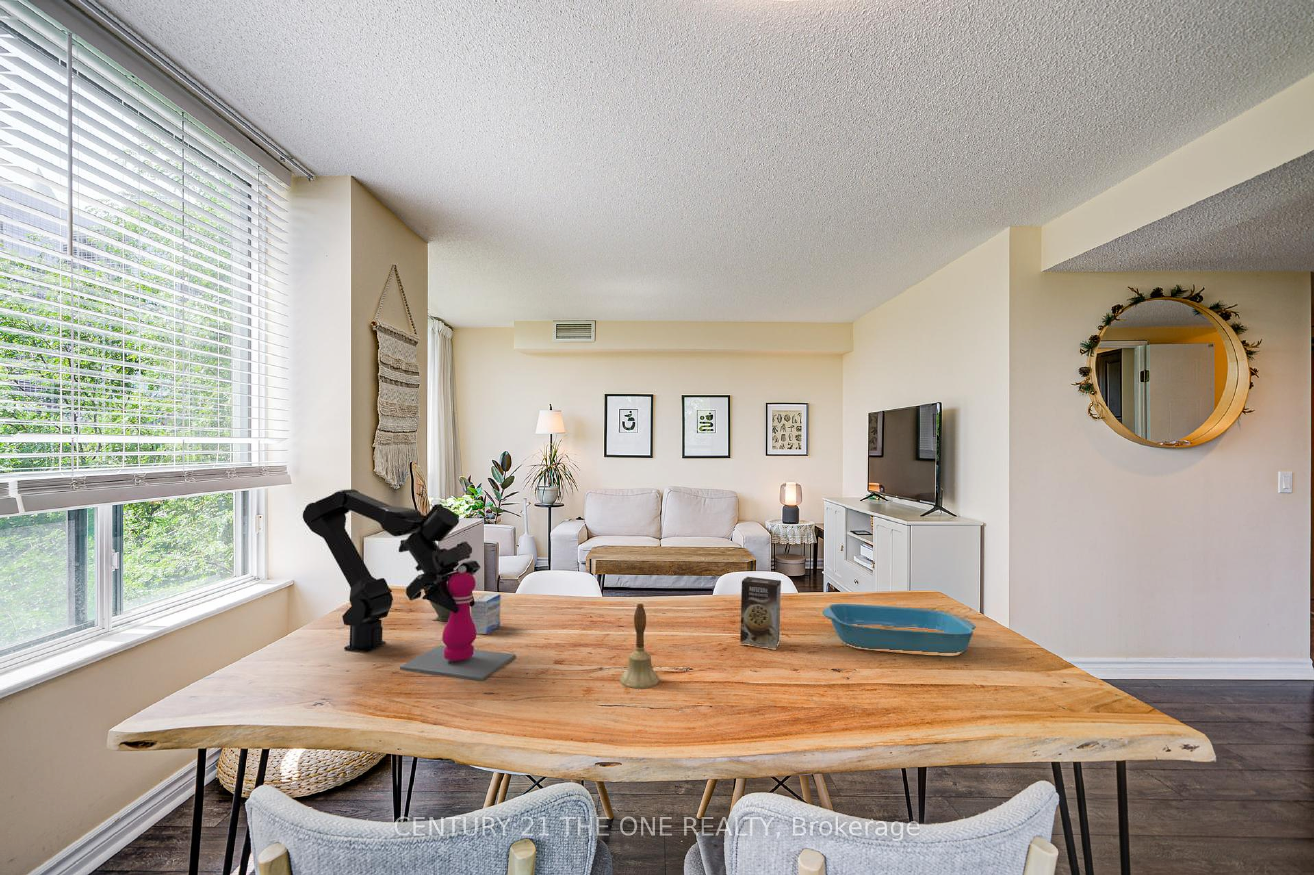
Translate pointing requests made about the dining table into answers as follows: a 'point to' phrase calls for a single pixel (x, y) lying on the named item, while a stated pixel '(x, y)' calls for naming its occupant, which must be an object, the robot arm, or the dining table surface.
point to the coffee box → (760, 612)
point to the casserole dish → (899, 617)
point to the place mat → (459, 664)
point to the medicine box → (486, 613)
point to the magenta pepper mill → (460, 618)
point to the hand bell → (639, 658)
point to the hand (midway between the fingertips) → (465, 608)
